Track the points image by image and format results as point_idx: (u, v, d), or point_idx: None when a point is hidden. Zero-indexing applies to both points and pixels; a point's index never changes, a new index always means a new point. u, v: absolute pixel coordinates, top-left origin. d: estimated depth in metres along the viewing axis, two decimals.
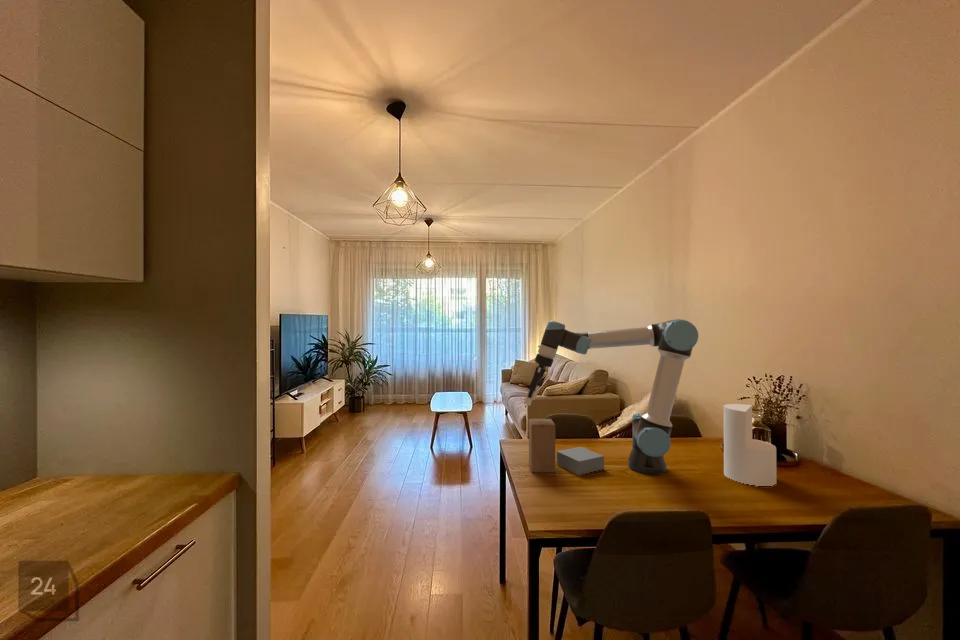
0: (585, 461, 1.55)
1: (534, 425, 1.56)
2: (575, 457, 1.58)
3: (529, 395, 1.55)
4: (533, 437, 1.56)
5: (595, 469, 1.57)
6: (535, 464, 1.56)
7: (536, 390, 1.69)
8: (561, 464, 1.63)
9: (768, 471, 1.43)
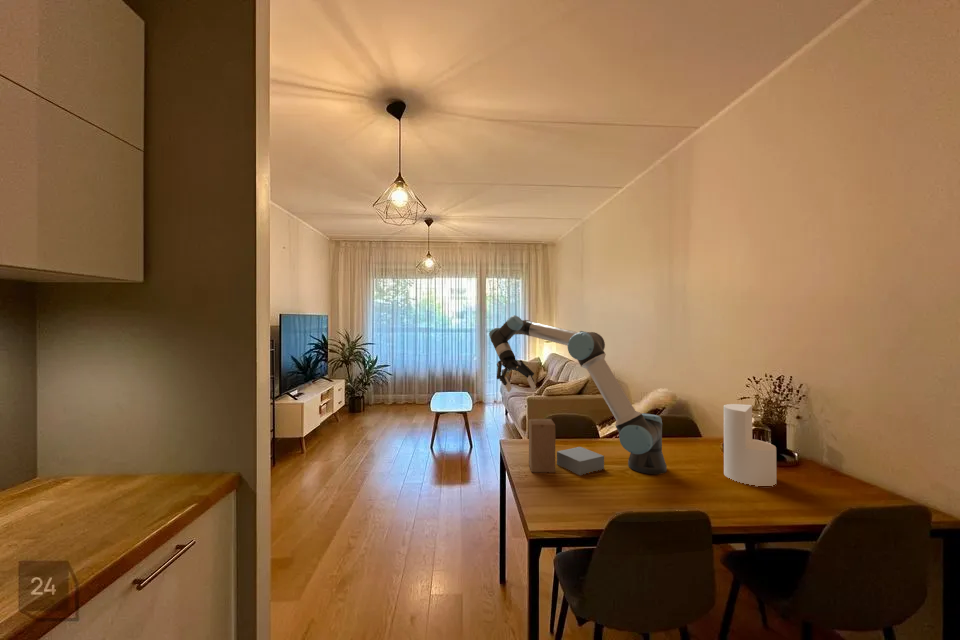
0: (586, 461, 1.55)
1: (534, 425, 1.56)
2: (576, 457, 1.58)
3: (503, 382, 1.73)
4: (533, 437, 1.56)
5: (595, 469, 1.57)
6: (535, 464, 1.56)
7: (530, 380, 1.79)
8: (561, 464, 1.62)
9: (768, 471, 1.43)
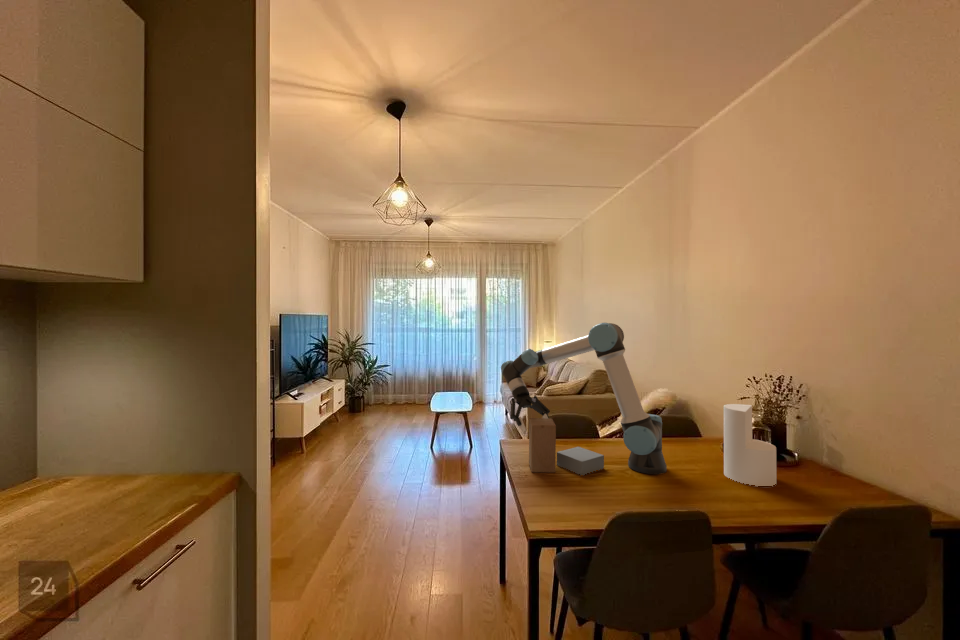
0: (587, 461, 1.55)
1: (534, 426, 1.55)
2: (577, 457, 1.58)
3: (517, 423, 1.62)
4: (533, 437, 1.55)
5: (596, 469, 1.58)
6: (535, 464, 1.55)
7: None
8: (562, 465, 1.62)
9: (768, 471, 1.43)
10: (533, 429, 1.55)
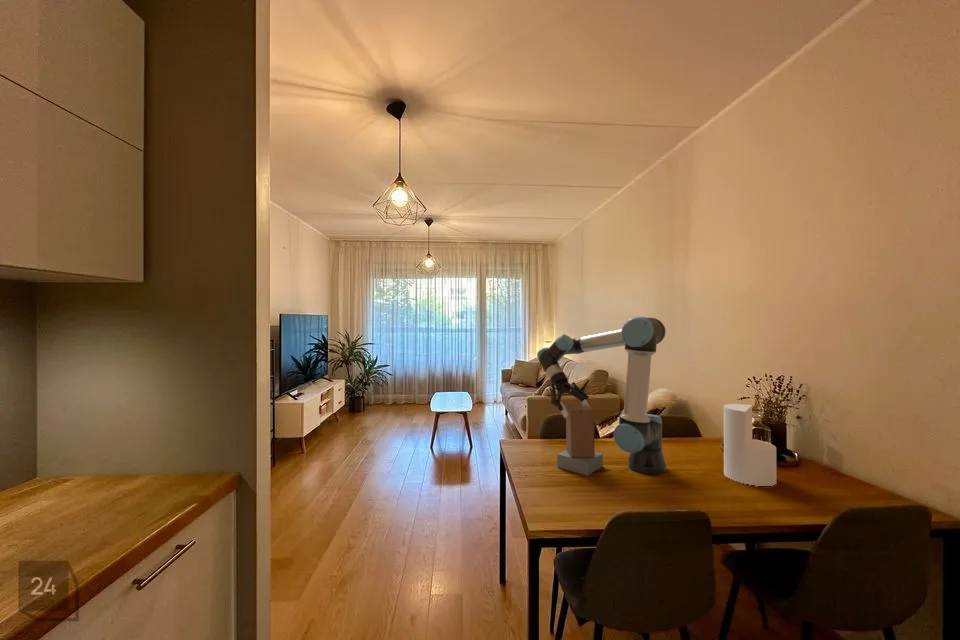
0: (591, 461, 1.55)
1: (573, 411, 1.58)
2: (580, 458, 1.57)
3: (559, 408, 1.63)
4: (572, 422, 1.58)
5: (597, 467, 1.59)
6: (574, 448, 1.58)
7: (585, 404, 1.69)
8: (563, 467, 1.60)
9: (768, 471, 1.43)
10: (572, 414, 1.58)
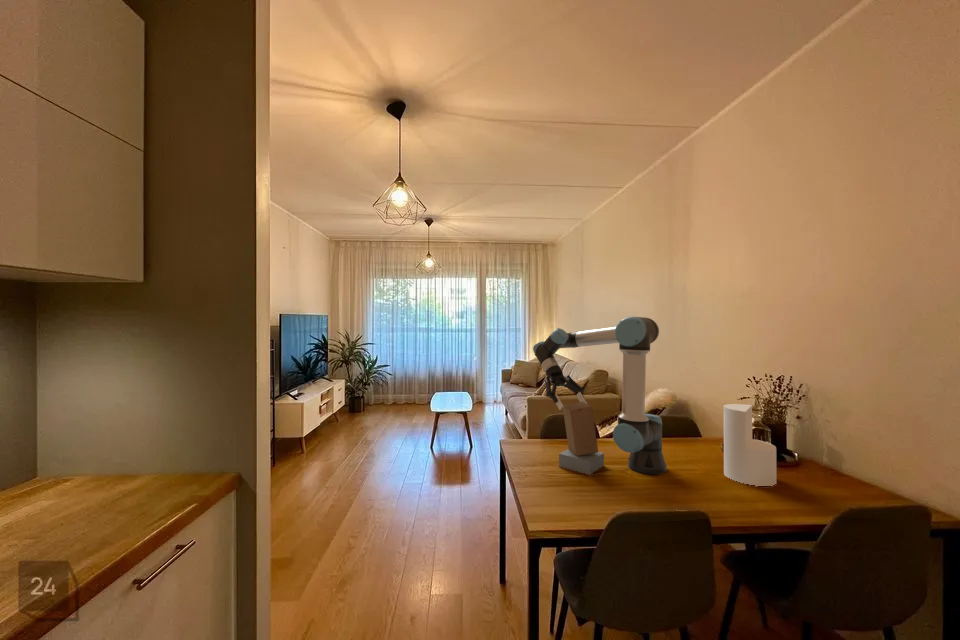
0: (593, 461, 1.56)
1: (572, 410, 1.59)
2: (582, 457, 1.58)
3: (554, 400, 1.65)
4: (573, 422, 1.59)
5: (599, 467, 1.60)
6: (578, 447, 1.59)
7: (580, 396, 1.72)
8: (565, 466, 1.60)
9: (768, 471, 1.43)
10: (572, 414, 1.59)
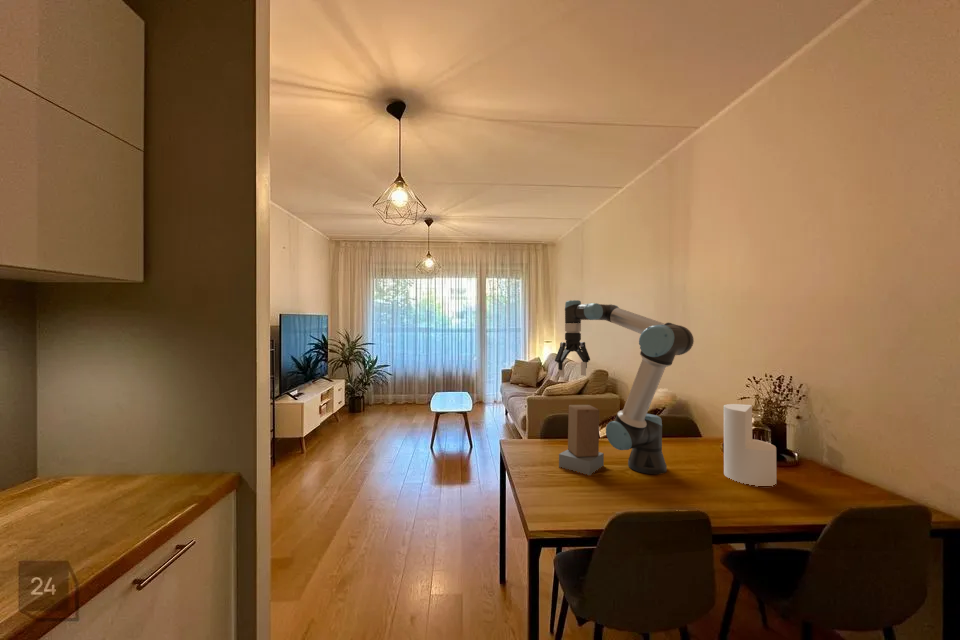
0: (593, 461, 1.56)
1: (580, 410, 1.58)
2: (582, 457, 1.57)
3: (559, 367, 1.78)
4: (578, 422, 1.58)
5: (598, 467, 1.60)
6: (580, 448, 1.58)
7: (583, 366, 1.84)
8: (565, 466, 1.60)
9: (768, 471, 1.43)
10: (578, 414, 1.58)
